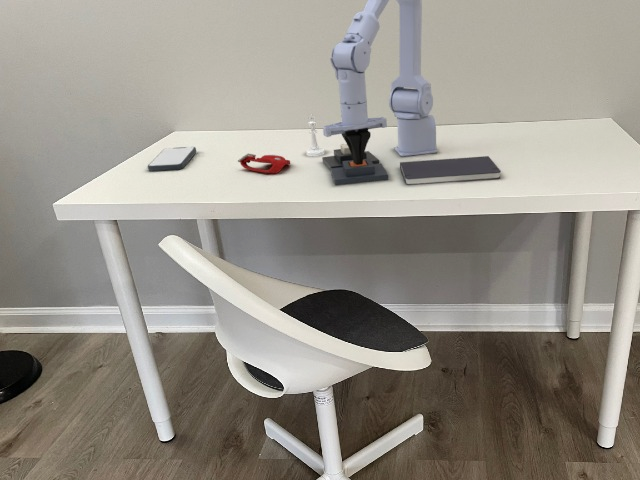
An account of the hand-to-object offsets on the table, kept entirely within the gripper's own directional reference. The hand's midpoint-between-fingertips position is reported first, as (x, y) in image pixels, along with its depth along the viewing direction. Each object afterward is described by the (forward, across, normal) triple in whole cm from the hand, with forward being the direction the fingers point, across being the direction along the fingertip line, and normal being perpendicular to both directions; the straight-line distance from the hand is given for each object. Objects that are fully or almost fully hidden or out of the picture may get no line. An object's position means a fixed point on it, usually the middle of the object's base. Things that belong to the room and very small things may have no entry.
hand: (358, 163), depth 141 cm
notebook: (+3, -18, +9) cm, 21 cm away
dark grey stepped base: (+3, -3, -11) cm, 11 cm away
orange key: (+2, 0, 0) cm, 2 cm away
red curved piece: (+3, +16, -19) cm, 25 cm away
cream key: (0, -2, -11) cm, 11 cm away
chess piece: (+3, +1, -25) cm, 25 cm away
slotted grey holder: (+3, 0, 0) cm, 3 cm away
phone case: (+3, +35, -40) cm, 53 cm away
